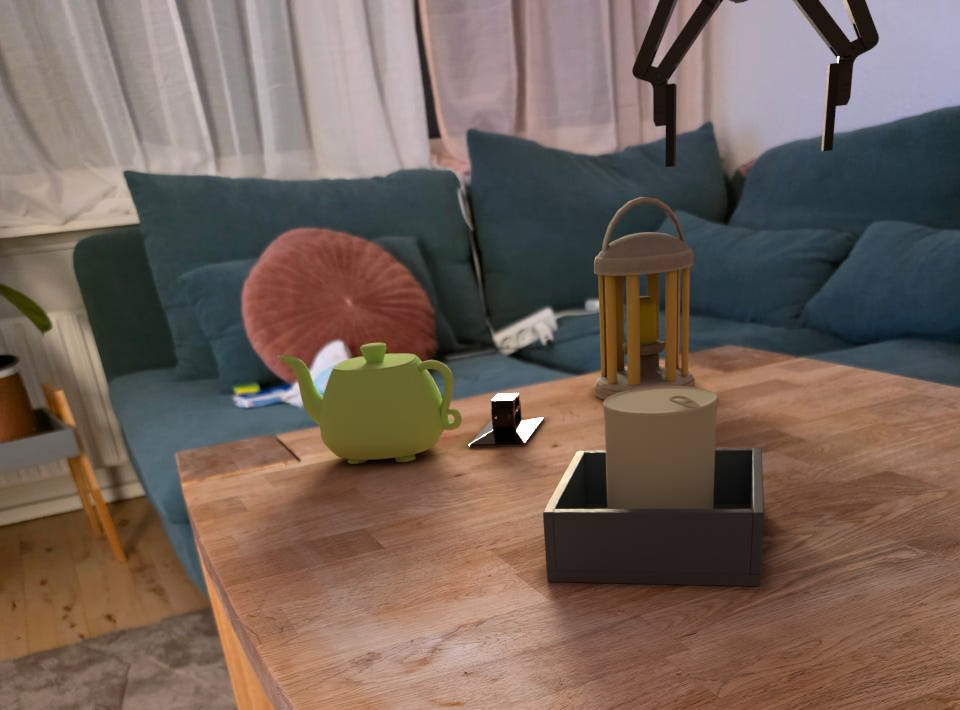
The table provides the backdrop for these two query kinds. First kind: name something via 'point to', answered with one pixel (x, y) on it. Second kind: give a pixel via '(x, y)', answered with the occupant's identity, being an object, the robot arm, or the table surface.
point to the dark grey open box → (657, 529)
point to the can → (660, 448)
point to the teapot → (379, 405)
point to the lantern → (643, 307)
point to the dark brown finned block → (507, 424)
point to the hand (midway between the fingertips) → (747, 159)
